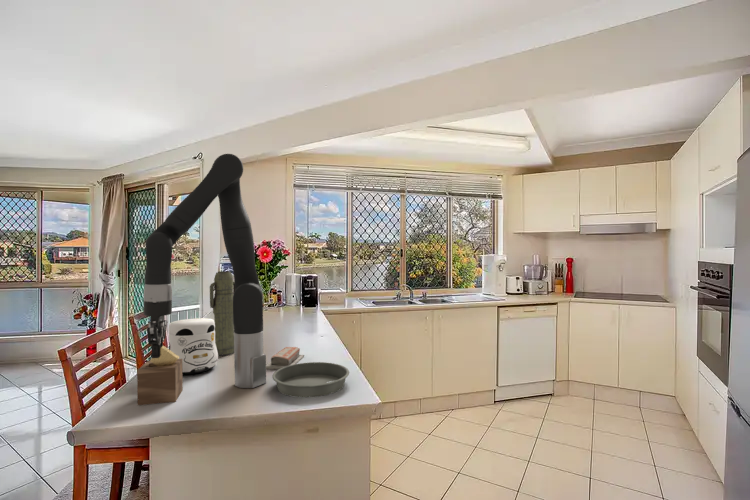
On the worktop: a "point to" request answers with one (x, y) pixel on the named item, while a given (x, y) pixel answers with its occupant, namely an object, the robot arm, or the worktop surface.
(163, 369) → the brown wooden box
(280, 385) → the cake pan
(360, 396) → the worktop surface
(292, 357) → the packaged product
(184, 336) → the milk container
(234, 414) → the worktop surface
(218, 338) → the thermos
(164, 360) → the token
